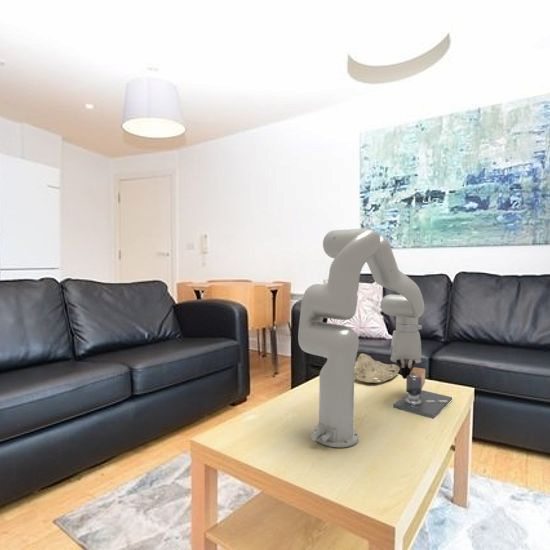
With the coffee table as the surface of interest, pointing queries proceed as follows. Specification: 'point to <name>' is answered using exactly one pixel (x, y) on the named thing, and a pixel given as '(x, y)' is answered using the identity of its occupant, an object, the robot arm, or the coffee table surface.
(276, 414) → the coffee table surface
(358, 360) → the stone
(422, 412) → the post base
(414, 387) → the orange boxy piece
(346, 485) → the coffee table surface
